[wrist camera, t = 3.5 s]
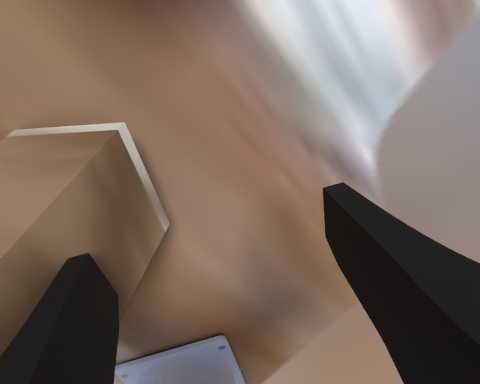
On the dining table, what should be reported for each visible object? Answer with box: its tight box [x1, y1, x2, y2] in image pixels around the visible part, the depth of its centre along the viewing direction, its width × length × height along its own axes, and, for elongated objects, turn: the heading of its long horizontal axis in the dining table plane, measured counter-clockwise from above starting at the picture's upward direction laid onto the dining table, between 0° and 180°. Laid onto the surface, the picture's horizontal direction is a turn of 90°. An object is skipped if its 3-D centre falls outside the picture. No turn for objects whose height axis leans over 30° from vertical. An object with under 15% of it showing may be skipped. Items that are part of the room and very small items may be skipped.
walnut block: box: [0, 122, 170, 356], centre depth 11 cm, size 5×5×9 cm
